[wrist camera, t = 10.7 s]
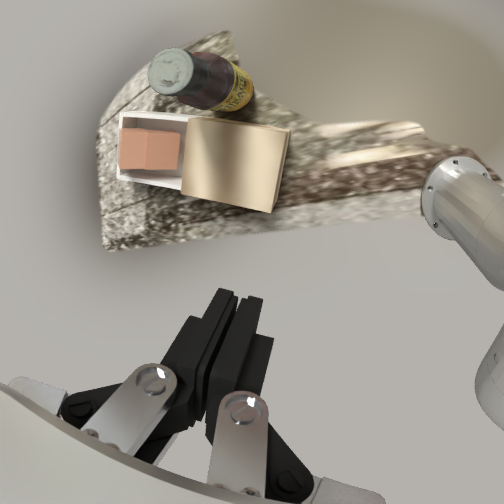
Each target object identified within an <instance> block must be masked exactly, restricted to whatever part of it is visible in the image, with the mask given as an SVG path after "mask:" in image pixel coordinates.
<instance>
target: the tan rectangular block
mask: <svg viewBox="0 0 504 504" xmlns="http://www.w3.org/2000/svg"><path fill="white" fill-rule="evenodd" d="M290 131H291V130H287V129H281V128H276V127H271V126H265V125H260V124H254V123H248V122H242V121H235V120H228V119H221V118H213V117H196V118H188V125H187V134H186V143H185V152H184V162H183V173H182V185H181V194H183V195H188V196H193V197H198V198H203V199H208V200H213V201H217V202H222V203H227V204H231V205H236V206H241V207H245V208H250V209H254V210H259V211H263V212H268V213H271V212H272V209H273V207H274V205H275V203H276V201H277V198H278V193H279V188H280V183H281V178H282V172H283V167H284V162H285V157H286V152H287V146H288V141H289V136H290Z"/></svg>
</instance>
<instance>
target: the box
mask: <svg viewBox="0 0 504 504" xmlns="http://www.w3.org/2000/svg"><path fill="white" fill-rule="evenodd" d="M196 117H205V116H196V115H187V114H177V113H165V112H151V111H129V112H120V117H119V128H143V129H144V130H173V131H176V132H178V133H179V134H181V137H180V144H179V153H178V161H177V169H165V170H145V169H119V166H118V163H117V179H122V180H128V181H133V182H139V183H145V184H150V185H156V186H161V187H167V188H172V189H177V190H181V185H182V173H183V162H184V152H185V143H186V134H187V125H188V118H196ZM118 140H119V131H118ZM117 156H118V150H117Z"/></svg>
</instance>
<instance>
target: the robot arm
mask: <svg viewBox="0 0 504 504" xmlns="http://www.w3.org/2000/svg"><path fill="white" fill-rule="evenodd" d="M453 161H455V162H454V163H453ZM428 186H430V188H429V189H428ZM422 210H423V213H424V216H425V219H426V221H427V222H428V224H429V226H430V227H431V228H432V229H433V230H434V231H435V232H436V233H437V234H438V235H440V236H441V237H443V238H445V239H448V240H455V241H457V243H458V244H459V245H460V246H461V247H462V249H463V250H464V251H465V252H466V254H467V255H468V256H469V257H470V258H471V260H472V261H473V262H474V263H475V265H476V266H477V267H478V268H479V270H480V271H481V272H482V274H483V275H484V276H485V278H487V280H488V281H489V282H490V283H491V284H492V285H493V286H494V287H496V288H497V289H499V290H502V291H504V187H503V186H501V185H499V184H498V183H496V182H494V181H492V179H491V177H490V175H489V173H488V172H487V170H486V169H485V167H483V166H482V165H481V164H480V163H479V162H477V161H476V160H474V159H472V158H469V157H466V156H452V157H448V158H446V159H444V160H442V161H440V162H439V163H438V164H437V165H436V166H434V168H433V169H432V170H431V171H430V173H429V174H428V176H427V178H426V180H425V183H424V186H423V190H422ZM434 223H435V224H434ZM237 303H238V297H237V296H234V292H233V291H230V290H226V289H222V288H219V289H218V290H217V292H216V294H215V296H214V297H213V299H212V301H211V303H210V304H209V306H208V308H207V310H206V312H205V314H204V315H203V317H202V319H201V318H198V317H194V316H189V317H188V319H187V320H186V322H185V323H184V325H183V327H182V328H181V330H180V332H179V333H178V335H177V337H176V338H175V340H174V341H173V343H172V345H171V346H170V348H169V350H168V352H167V353H166V355H165V356H164V358H163V360H162V361H161V363H160V364H155V363H150V364H145V365H142V366H140V367H138V368H137V369H136V370H135V371H134V372H133V373H132V374H131V375H130V376H129V377H128V378H127V379H126V380H125V381H124V382H123V383H120V384H115V385H111V386H106V387H102V388H97V389H93V390H88V391H84V392H78V393H75V394H72V395H71V394H67V391H65V390H62V389H59V388H56V387H52V386H49V385H47V384H44V383H41V382H38V381H35V380H32V379H29V378H27V377H17V378H14V379H13V380H12V381H10V383H9V384H8V385H5V384H2V383H0V504H386V502H385V499H384V498H383V497H382V496H381V495H380V494H378V493H376V492H373V491H369V490H365V489H362V488H358V487H354V486H351V485H348V484H345V483H341V482H338V481H335V480H332V479H329V478H326V477H323V478H319V477H316V476H313V475H312V474H311V473H310V471H309V470H308V469H307V468H306V467H305V465H303V463H302V462H301V461H300V460H299V459H298V457H297V456H296V455H295V454H294V453H293V451H292V450H291V449H290V448H289V447H288V446H287V445H286V443H285V442H284V441H283V439H282V438H281V437H280V436H279V435H278V433H277V432H276V431H275V430H274V428H273V427H272V426H271V425H270V423H269V422H268V415H269V414H268V413H269V412H268V407H267V405H266V403H265V401H264V400H263V399H261V397H260V393H261V390H262V385H263V382H264V378H265V373H266V370H267V365H268V362H269V358H270V354H271V350H272V346H273V341H274V338H271V337H267V336H263V335H259V334H256V330H257V325H258V321H259V316H260V312H261V307H262V303H263V299H261V298H257V297H253V296H248V299H245V298H242V299H241V302H240V304H239V306H238V309H237ZM236 309H237V311H236ZM475 393H476V397H477V400H478V402H479V404H480V406H481V407H482V409H483V411H484V412H485V413H486V415H487V416H488V417H489V418H490V419H491V420H492V421H493V422H494V423H495V424H496V425H497V426H499V427H500V428H501V429H502V430H503V431H504V324H503V326H502V328H501V330H500V331H499V333H498V335H497V337H496V338H495V340H494V342H493V344H492V345H491V347H490V349H489V350H488V352H487V354H486V355H485V357H484V359H483V360H482V362H481V364H480V366H479V368H478V371H477V374H476V378H475ZM205 411H206V418H205V423H206V434H205V436H206V437H207V439H208V440H209V442H210V443H211V445H212V453H211V459H210V465H209V471H208V478H207V483H206V484H205V483H202V482H198V481H195V480H192V479H189V478H186V477H183V476H180V475H177V474H174V473H172V472H169V471H166V470H164V469H161V468H159V467H157V465H158V464H159V462H160V461H161V459H162V458H163V457H164V455H165V454H166V452H167V451H168V449H169V448H170V446H171V445H172V443H173V442H174V441H175V439H176V438H177V436H178V433H179V432H181V431H184V430H187V429H188V427H189V426H191V427H193V426H194V424H195V421H196V420H197V421H201V420H202V418H203V416H204V414H205Z"/></svg>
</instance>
